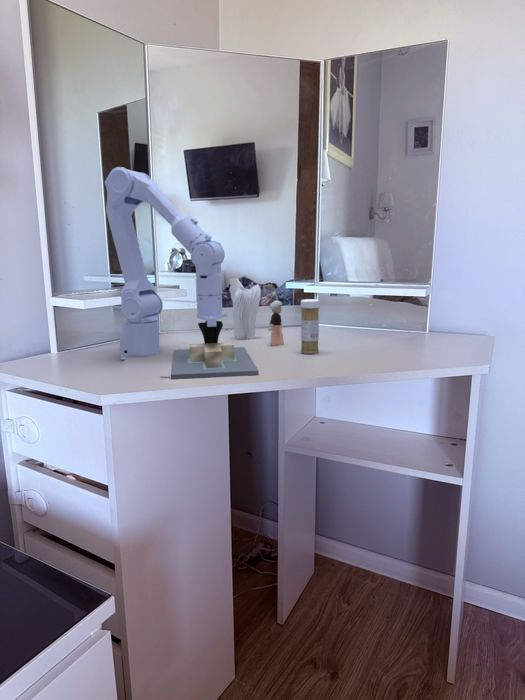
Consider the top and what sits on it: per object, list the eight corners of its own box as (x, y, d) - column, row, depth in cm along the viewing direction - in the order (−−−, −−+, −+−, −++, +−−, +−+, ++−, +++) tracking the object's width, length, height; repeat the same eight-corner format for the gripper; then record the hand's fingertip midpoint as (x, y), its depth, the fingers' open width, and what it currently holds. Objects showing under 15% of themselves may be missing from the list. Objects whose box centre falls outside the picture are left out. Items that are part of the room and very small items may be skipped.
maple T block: (190, 368, 103) (189, 352, 102) (190, 358, 113) (189, 344, 112) (237, 366, 104) (237, 350, 104) (233, 356, 114) (232, 342, 113)
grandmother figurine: (281, 351, 125) (281, 302, 123) (266, 350, 126) (266, 301, 124) (286, 345, 133) (285, 299, 130) (272, 345, 134) (271, 298, 131)
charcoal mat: (170, 379, 98) (170, 374, 98) (173, 353, 124) (173, 349, 123) (258, 375, 101) (258, 370, 101) (244, 350, 126) (244, 346, 126)
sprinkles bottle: (315, 350, 125) (316, 298, 123) (321, 354, 121) (321, 300, 118) (298, 351, 125) (298, 299, 122) (303, 355, 120) (303, 300, 117)
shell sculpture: (263, 342, 137) (262, 278, 134) (234, 344, 135) (233, 279, 131) (254, 337, 145) (254, 277, 142) (228, 339, 143) (226, 277, 139)
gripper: (229, 297, 105) (231, 358, 108) (224, 291, 119) (225, 346, 122) (196, 298, 104) (199, 359, 107) (195, 292, 118) (197, 347, 121)
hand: (211, 352), depth 114 cm, fingers closed
